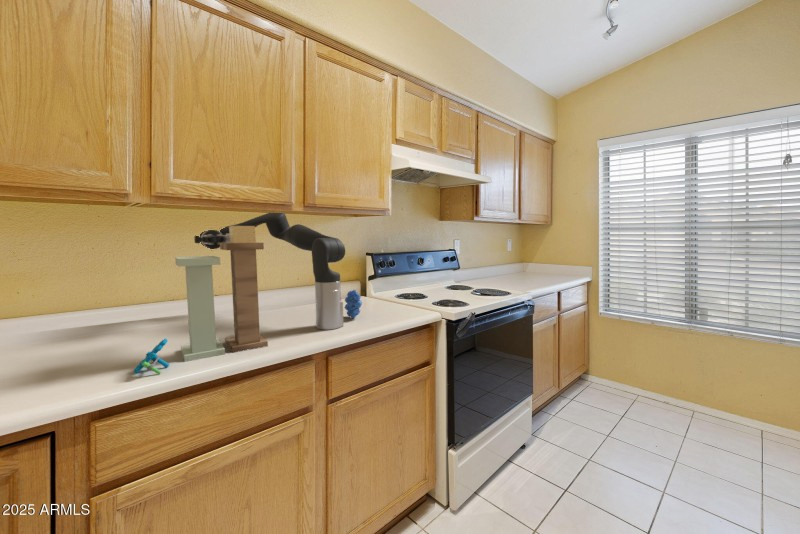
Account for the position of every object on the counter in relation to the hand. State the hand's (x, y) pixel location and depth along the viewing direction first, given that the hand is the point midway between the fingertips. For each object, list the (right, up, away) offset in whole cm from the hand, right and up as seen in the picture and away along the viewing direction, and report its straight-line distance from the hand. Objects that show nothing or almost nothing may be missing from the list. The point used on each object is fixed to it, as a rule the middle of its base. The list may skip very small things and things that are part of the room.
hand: (218, 239), depth 127 cm
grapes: (+48, -31, +17) cm, 60 cm away
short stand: (+8, -35, -25) cm, 44 cm away
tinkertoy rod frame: (+3, -37, -39) cm, 54 cm away
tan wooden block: (+14, -2, -16) cm, 22 cm away
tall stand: (+18, -35, -18) cm, 43 cm away
